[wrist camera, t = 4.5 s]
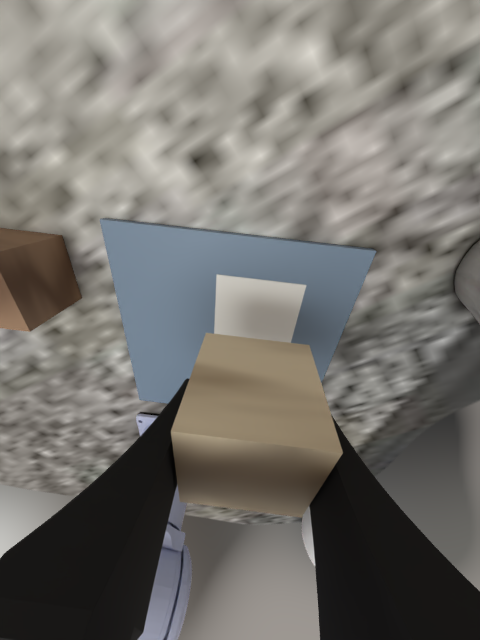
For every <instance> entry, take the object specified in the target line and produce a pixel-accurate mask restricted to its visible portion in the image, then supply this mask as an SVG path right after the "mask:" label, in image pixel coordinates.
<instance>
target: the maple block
mask: <svg viewBox="0 0 480 640" xmlns="http://www.w3.org/2000/svg"><path fill="white" fill-rule="evenodd" d="M171 437H172V445H173V452H174V460H175V468H176V476H177V484H178V492H179V500H180V502H185V503H193V504H200V505H208V506H216V507H224V508H231V509H239V510H247V511H254V512H262V513H270V514H277V515H285V516H293V517H302V516H303V514H304V513H305V511H306V510H307V508H308V507H309V505H310V503H311V502H312V500H313V499H314V497H315V496H316V494H317V493H318V491H319V489H320V488H321V486H322V485H323V483H324V482H325V480H326V479H327V477H328V475H329V474H330V472H331V471H332V469H333V468H334V466H335V465H336V463H337V461H338V460H339V458H340V457H341V455H342V454H343V451H342V448H341V445H340V442H339V438H338V435H337V432H336V429H335V426H334V422H333V419H332V416H331V413H330V410H329V406H328V403H327V400H326V397H325V394H324V390H323V387H322V384H321V381H320V378H319V374H318V371H317V368H316V365H315V362H314V358H313V355H312V352H311V349H310V346H309V345H305V344H296V343H288V342H280V341H271V340H263V339H254V338H246V337H238V336H229V335H221V334H212V333H206V334H205V337H204V340H203V343H202V345H201V348H200V351H199V354H198V357H197V359H196V362H195V365H194V368H193V371H192V373H191V376H190V379H189V382H188V385H187V387H186V390H185V393H184V396H183V399H182V401H181V404H180V407H179V410H178V413H177V415H176V418H175V421H174V424H173V427H172V429H171Z"/></svg>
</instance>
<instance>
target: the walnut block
mask: <svg viewBox="0 0 480 640" xmlns="http://www.w3.org/2000/svg"><path fill="white" fill-rule="evenodd" d="M81 298H82V297H81V294H80V291H79V287H78V284H77V281H76V278H75V275H74V272H73V268H72V265H71V262H70V259H69V256H68V253H67V249H66V246H65V243H64V240H63V237H62V235H55V234H47V233H38V232H29V231H21V230H12V229H3V228H0V328H5V329H13V330H21V331H29V332H30V331H32V330H33V329H35V328H36V327H38V326H39V325H41V324H42V323H44V322H46V321H47V320H49V319H50V318H52V317H53V316H55V315H56V314H58V313H60V312H61V311H63V310H64V309H66V308H67V307H69V306H70V305H72V304H74V303H75V302H77V301H78V300H80V299H81Z"/></svg>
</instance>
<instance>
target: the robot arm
mask: <svg viewBox="0 0 480 640" xmlns="http://www.w3.org/2000/svg"><path fill="white" fill-rule="evenodd" d="M188 382H189V379H188V378H187V379H186V380H185V381H184V382H183V384H182V385H181V387H180V388H179V390H178V391H177V392H176V394H175V395H174V397H173V398H172V399H171V401H170V402H169V403H168V404H167V406H166V407H165V408H164V409H163V411H162V412H161V413H160V414H159V416H156V415H148V414H138V415H137V416H136V421H137V425H138V429H139V433H140V437H139V438H138V439H137V441H136V442H135V443H134V444H133V445H132V446H131V447H130V448H129V449H128V450H127V451H126V452H125V453H124V454H123V455H122V456H121V457H120V458H119V459H118V460H117V461H116V462H115V463H114V464H112V465H111V466H110V467H109V468H108V469H107V470H106V471H105V472H104V473H103V474H102V475H101V476H100V477H98V478H97V479H96V480H95V481H94V482H93V483H92V484H91V485H89V486H88V487H87V488H86V489H85V490H84V491H82V492H81V493H80V494H79V495H78V496H76V497H75V498H74V499H73V500H72V501H71V502H69V503H68V504H67V505H66V506H64V507H63V508H62V509H61V510H60V511H58V512H57V513H56V514H55V515H53V516H52V517H51V518H50V519H48V520H47V521H46V522H45V523H43V524H42V525H41V526H39V527H38V528H37V529H35V530H34V531H33V532H32V533H30V534H29V535H28V536H26V537H25V538H24V539H22V540H21V541H20V542H19V543H17V544H16V545H15V546H13V547H12V548H11V549H9V550H8V551H7V552H6V553H5V554H4V555H3V556H2V557H1V558H0V640H178V638H179V635H180V632H181V628H182V625H183V622H184V618H185V613H186V609H187V604H188V599H189V594H190V587H191V577H192V564H191V558H190V554H189V550H188V547H187V546H186V545H183V544H184V539H185V533H184V532H181V526H182V522H183V518H184V514H185V509H186V505H187V503H185V502H180V500H179V492H178V484H177V476H176V468H175V460H174V452H173V445H172V437H171V429H172V427H173V424H174V421H175V418H176V415H177V413H178V410H179V407H180V404H181V401H182V399H183V396H184V393H185V390H186V387H187V385H188ZM331 416H332V415H331ZM332 419H333V422H334V426H335V429H336V432H337V435H338V438H339V442H340V445H341V448H342V451H343V454H342V455H341V457H340V458H339V460H338V461H337V463H336V465H335V466H334V468H333V469H332V471H331V472H330V474H329V475H328V477H327V479H326V480H325V482H324V483H323V485H322V486H321V488H320V489H319V491H318V493H317V494H316V496H315V497H314V499H313V500H312V502H311V503H310V505H309V507H310V515H311V525H312V534H313V545H314V556H315V567H316V581H317V593H318V607H319V626H320V640H480V591H478V589H477V588H475V587H474V586H473V585H472V584H471V583H470V582H469V581H468V580H467V579H466V578H465V577H464V576H463V575H462V574H461V573H460V572H459V571H458V570H457V569H456V568H455V567H454V566H453V565H452V564H451V563H450V562H449V561H448V560H447V559H446V557H444V556H443V554H442V553H440V551H439V550H438V549H437V548H436V547H435V546H434V545H433V544H432V543H431V542H430V541H429V540H428V539H427V537H425V535H424V534H423V533H422V532H421V531H420V530H419V529H418V528H417V526H416V525H415V524H414V523H413V522H412V521H411V520H410V519H409V518H408V517H407V515H406V514H405V513H404V512H403V511H402V510H401V509H400V507H399V506H398V505H397V504H396V503H395V502H394V500H393V499H392V498H391V497H390V496H389V494H388V493H387V492H386V491H385V490H384V488H383V487H382V486H381V485H380V483H379V482H378V481H377V480H376V478H375V477H374V476H373V474H372V473H371V472H370V470H369V469H368V468H367V466H366V465H365V464H364V462H363V461H362V460H361V458H360V457H359V456H358V454H357V453H356V451H355V450H354V448H353V447H352V446H351V444H350V443H349V441H348V440H347V438H346V437H345V435H344V434H343V432H342V431H341V429H340V428H339V426H338V424H337V423H336V421H335V420H334V418H333V417H332Z"/></svg>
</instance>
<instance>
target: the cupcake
mask: <svg viewBox="0 0 480 640" xmlns="http://www.w3.org/2000/svg"><path fill="white" fill-rule="evenodd" d="M454 283H455V292H456V295H457V296H458V298H459V300H460V301H461V302H462V303H463V304H464V305H465V307H466V308H467V309H468V310H469V311H470V312H471V313H472V315H473V316H474V317H475V319H476V320H477V321H478V323H479V324H480V240H479V241H478V242H477V243H476V244H475V245H473V246H472V247H471V249H470V250H469V251H468V252H467V254H466V255H465V256H464V258H463V259H462V261H461V263H460V265H459V266H458V268H457V270H456V275H455V281H454Z"/></svg>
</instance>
